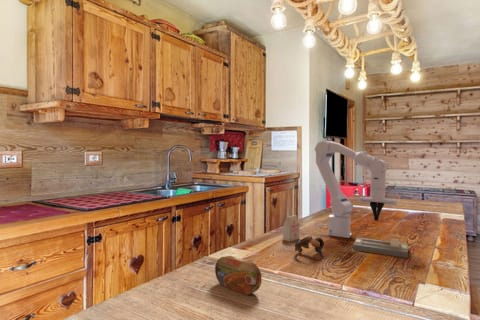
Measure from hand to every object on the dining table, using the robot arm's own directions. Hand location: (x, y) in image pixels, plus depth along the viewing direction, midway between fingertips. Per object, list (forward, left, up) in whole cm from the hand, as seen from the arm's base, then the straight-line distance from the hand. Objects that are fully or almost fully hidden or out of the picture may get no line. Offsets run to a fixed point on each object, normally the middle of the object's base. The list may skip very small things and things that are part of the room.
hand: (376, 220), depth 138 cm
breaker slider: (+7, -10, -7) cm, 14 cm away
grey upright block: (-33, -14, -10) cm, 37 cm away
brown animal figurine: (-20, -31, -10) cm, 38 cm away
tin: (-31, -69, -10) cm, 76 cm away
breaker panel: (+2, -10, -9) cm, 14 cm away
